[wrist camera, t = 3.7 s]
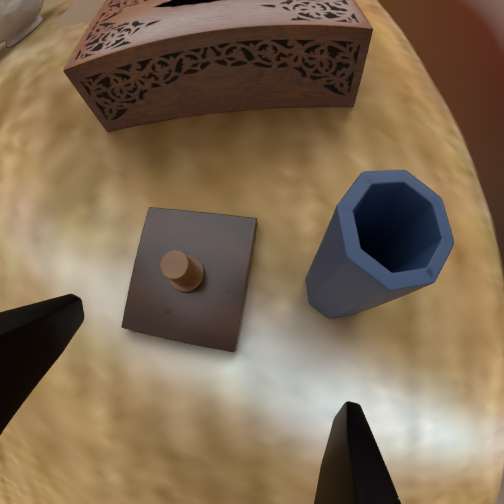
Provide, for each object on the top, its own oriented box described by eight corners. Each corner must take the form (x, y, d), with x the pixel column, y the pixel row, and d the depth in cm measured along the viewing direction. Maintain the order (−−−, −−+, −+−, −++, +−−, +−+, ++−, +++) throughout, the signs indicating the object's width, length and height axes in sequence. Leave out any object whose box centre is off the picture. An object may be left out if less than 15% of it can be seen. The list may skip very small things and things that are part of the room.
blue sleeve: (369, 312, 22) (462, 277, 10) (310, 321, 22) (352, 296, 10) (360, 254, 23) (432, 168, 11) (303, 260, 24) (328, 173, 11)
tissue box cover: (107, 132, 29) (63, 70, 19) (132, 53, 33) (107, -1, 24) (353, 107, 27) (373, 28, 18) (326, 31, 31) (332, -31, 22)
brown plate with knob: (237, 351, 22) (228, 354, 18) (127, 328, 23) (101, 324, 19) (257, 223, 25) (254, 201, 21) (154, 212, 26) (134, 190, 22)
